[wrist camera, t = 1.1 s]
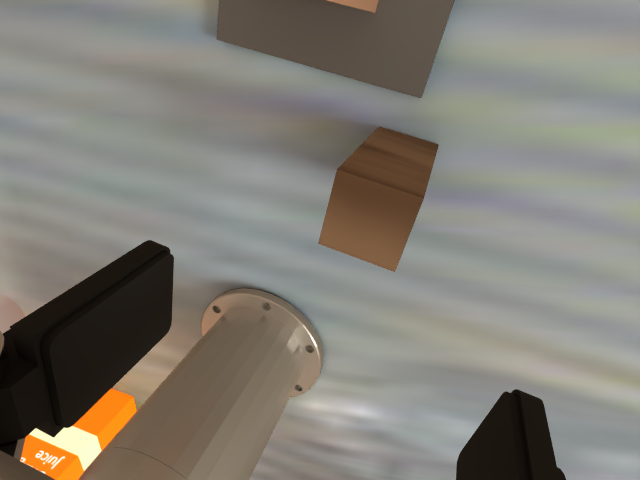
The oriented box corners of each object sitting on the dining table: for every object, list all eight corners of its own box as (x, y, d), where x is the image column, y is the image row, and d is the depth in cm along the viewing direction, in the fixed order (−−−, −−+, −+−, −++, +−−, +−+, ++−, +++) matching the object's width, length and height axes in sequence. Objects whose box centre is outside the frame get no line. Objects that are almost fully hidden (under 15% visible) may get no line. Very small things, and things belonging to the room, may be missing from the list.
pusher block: (417, 199, 27) (394, 272, 19) (363, 181, 28) (318, 243, 20) (438, 144, 25) (423, 198, 17) (379, 126, 26) (336, 169, 18)
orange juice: (134, 396, 51) (-31, 573, 34) (143, 439, 55) (1, 616, 38) (86, 378, 53) (-92, 538, 36) (99, 421, 57) (-55, 581, 40)
